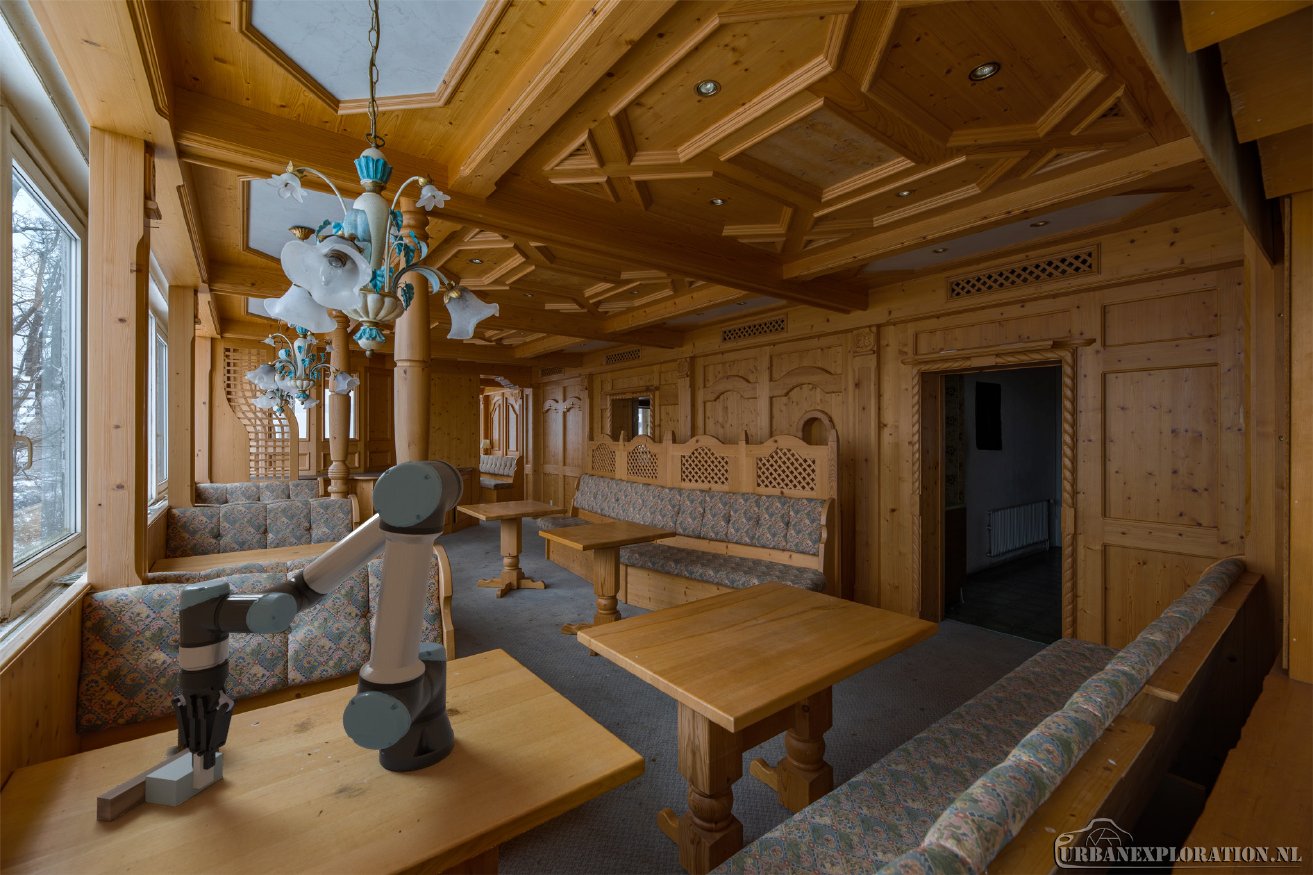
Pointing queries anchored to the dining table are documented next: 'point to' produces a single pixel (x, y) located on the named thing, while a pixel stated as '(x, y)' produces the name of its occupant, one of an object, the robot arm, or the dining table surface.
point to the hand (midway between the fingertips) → (203, 783)
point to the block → (177, 781)
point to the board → (128, 793)
